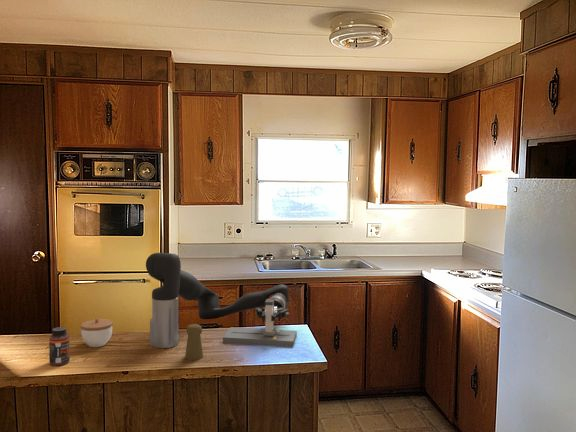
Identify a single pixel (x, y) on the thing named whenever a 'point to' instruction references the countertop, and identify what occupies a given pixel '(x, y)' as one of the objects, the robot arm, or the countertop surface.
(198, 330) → the pepper mill
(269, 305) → the post
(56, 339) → the supplement bottle
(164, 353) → the countertop surface
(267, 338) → the slider console
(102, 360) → the countertop surface
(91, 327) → the lidded jar
